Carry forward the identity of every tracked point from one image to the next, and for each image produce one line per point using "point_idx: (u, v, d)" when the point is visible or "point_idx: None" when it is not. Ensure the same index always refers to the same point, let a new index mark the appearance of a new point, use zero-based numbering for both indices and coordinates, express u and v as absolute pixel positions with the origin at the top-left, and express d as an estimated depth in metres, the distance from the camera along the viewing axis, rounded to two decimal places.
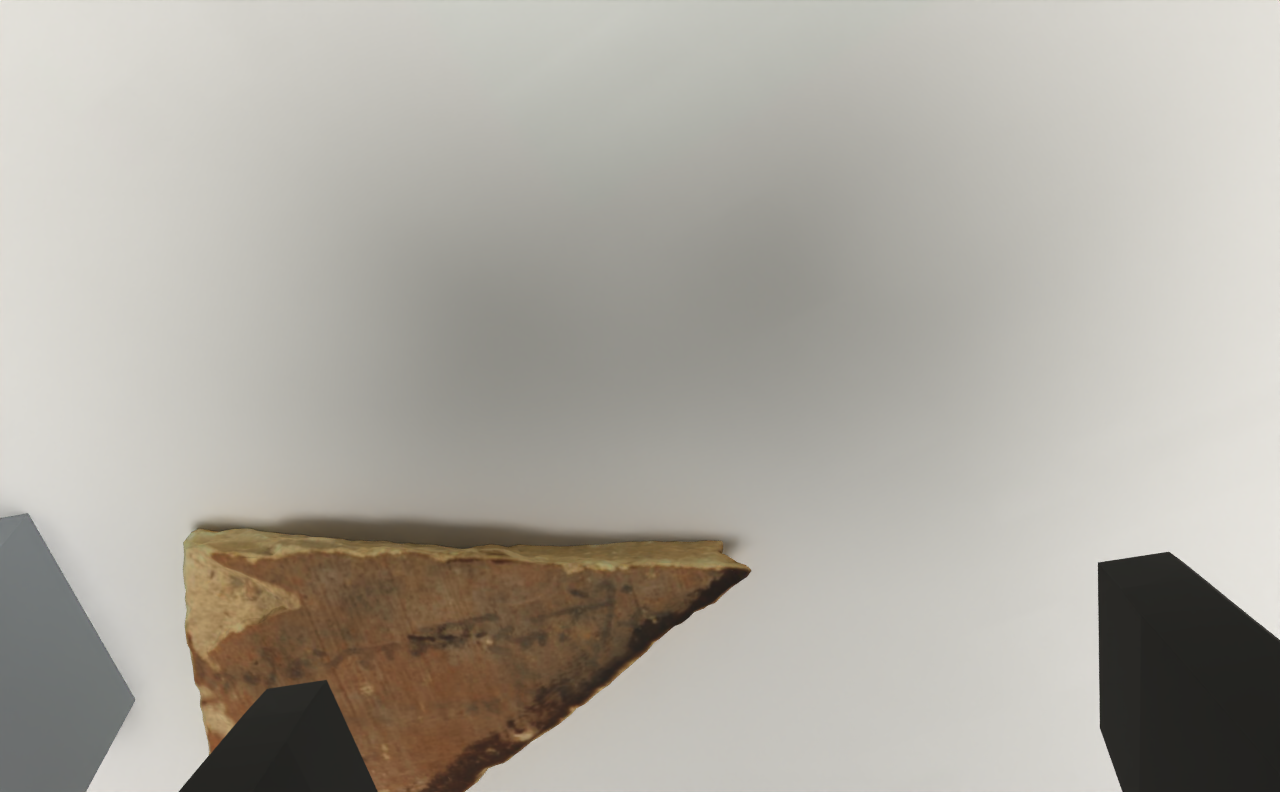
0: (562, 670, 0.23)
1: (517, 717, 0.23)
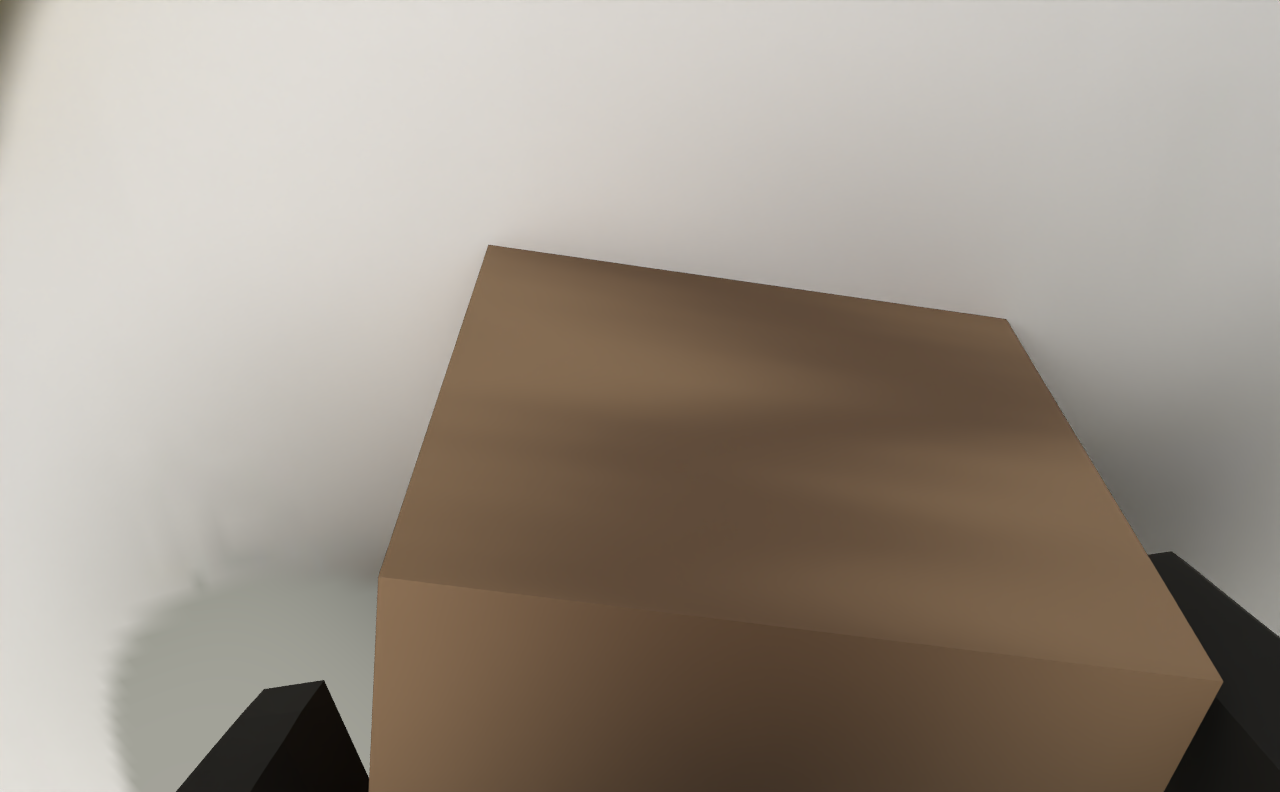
0: None
1: None
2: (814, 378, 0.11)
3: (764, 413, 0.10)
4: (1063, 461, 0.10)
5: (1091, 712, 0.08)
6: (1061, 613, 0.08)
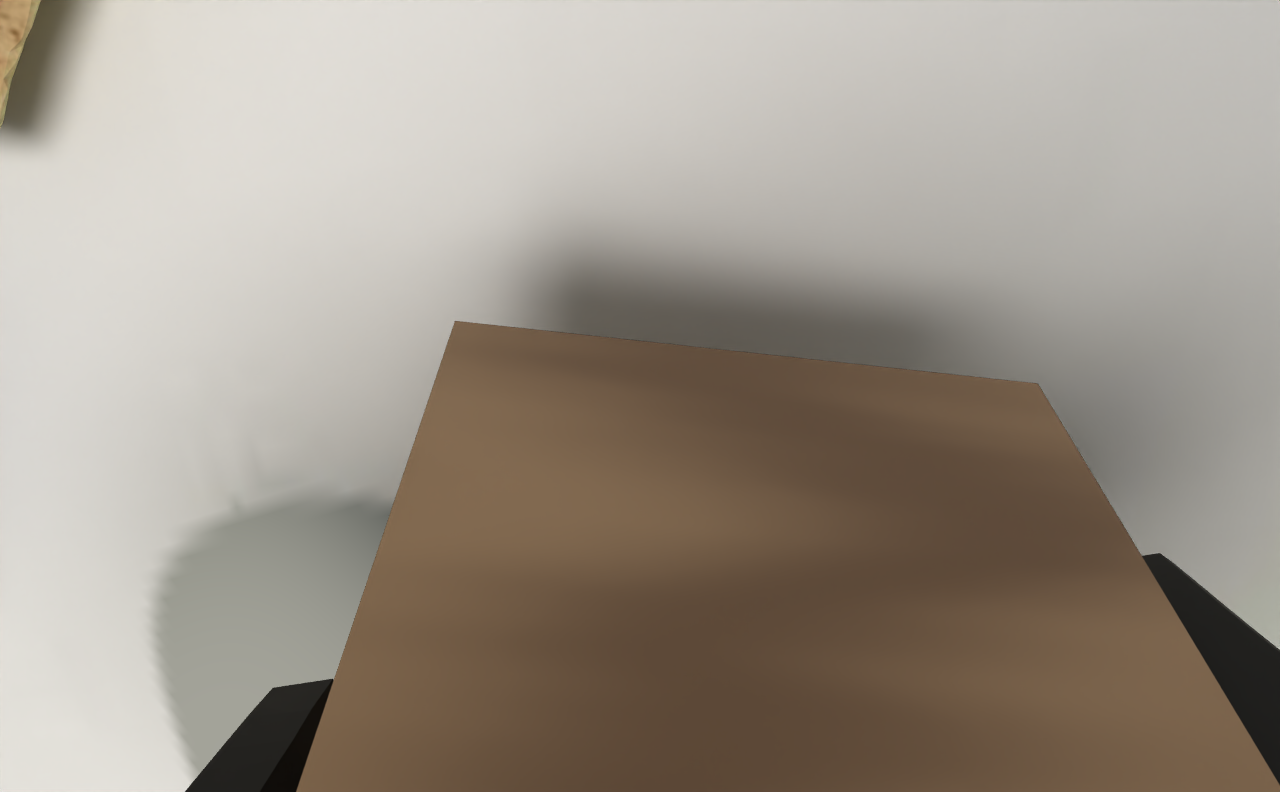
0: None
1: None
2: (832, 511, 0.09)
3: (773, 566, 0.08)
4: (1142, 613, 0.08)
5: None
6: None
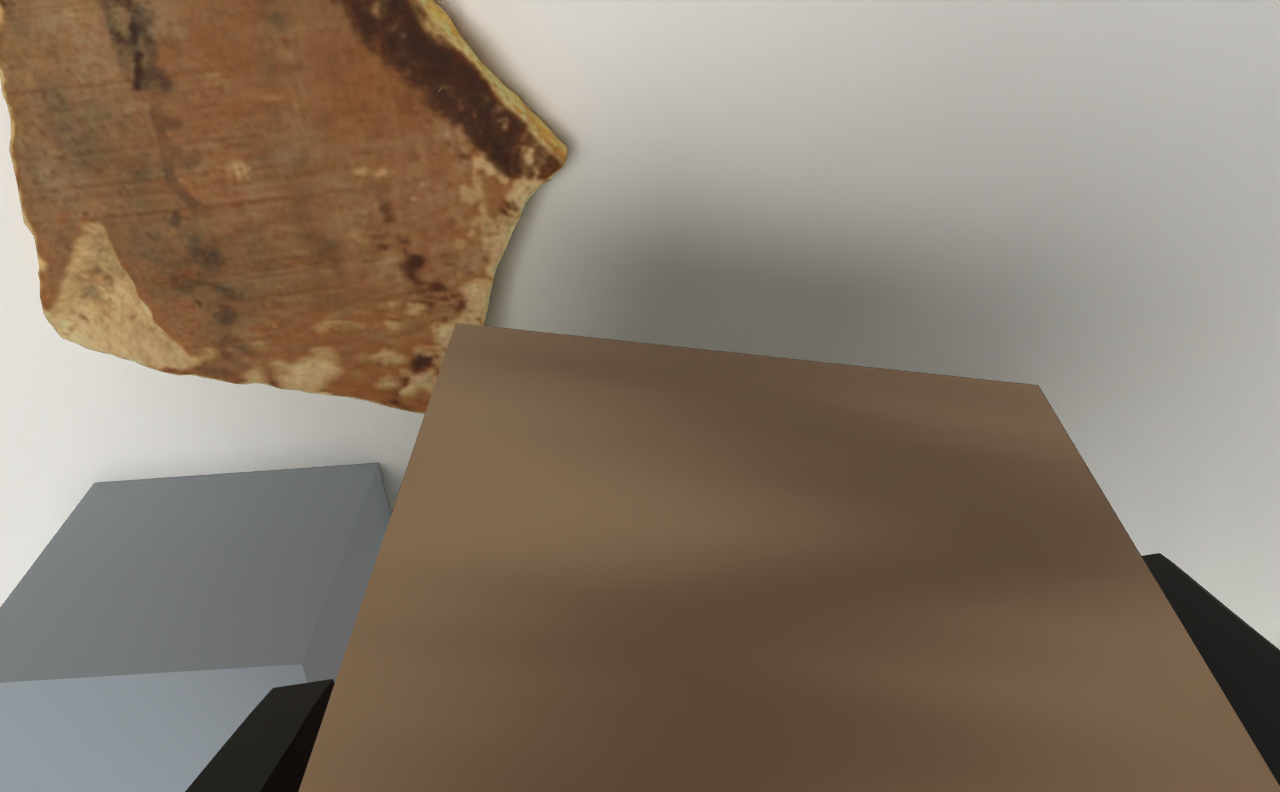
0: None
1: None
2: (834, 514, 0.09)
3: (775, 569, 0.08)
4: (1143, 615, 0.08)
5: None
6: None
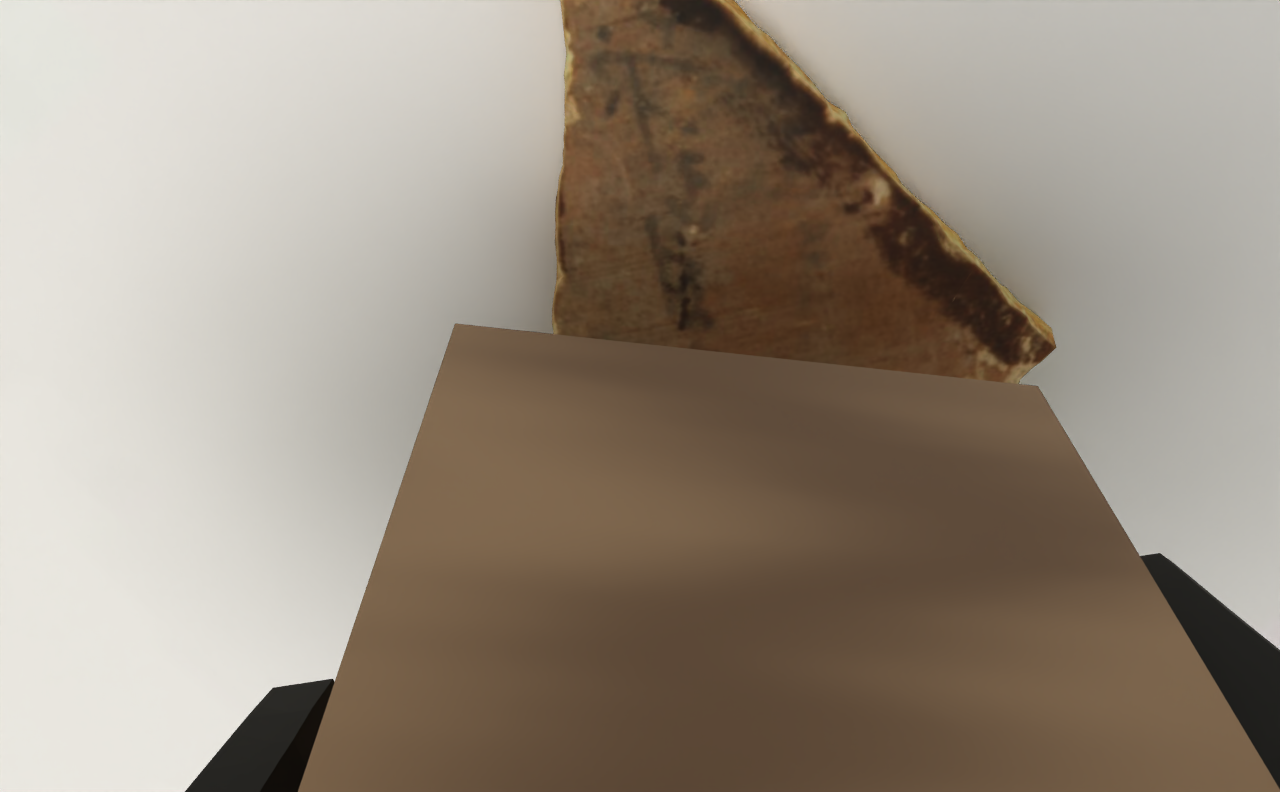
0: (752, 131, 0.16)
1: (839, 198, 0.16)
2: (834, 514, 0.09)
3: (773, 571, 0.08)
4: (1142, 617, 0.08)
5: None
6: None
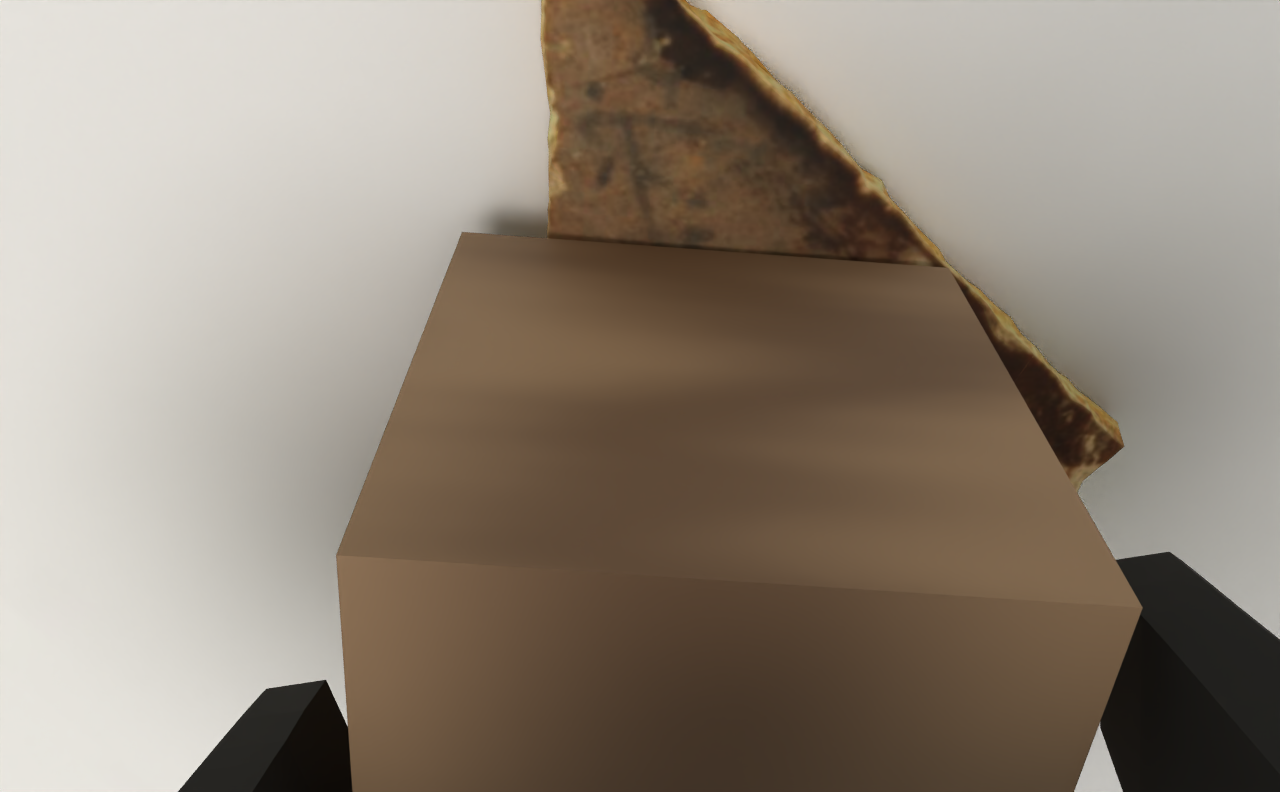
0: (771, 204, 0.13)
1: None
2: (764, 353, 0.11)
3: (713, 388, 0.10)
4: (1004, 414, 0.10)
5: (1020, 645, 0.08)
6: (989, 554, 0.08)
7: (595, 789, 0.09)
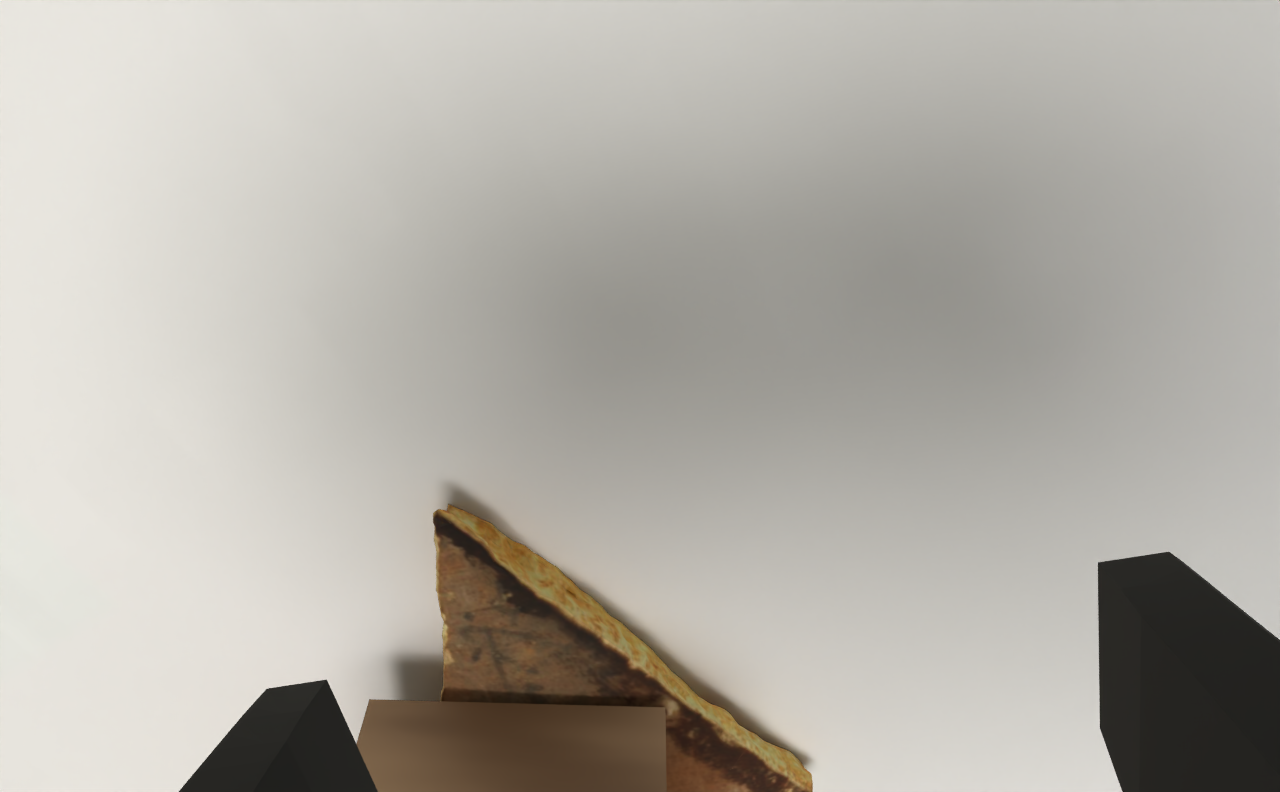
0: (576, 673, 0.22)
1: None
2: None
3: None
4: None
5: None
6: None
7: None
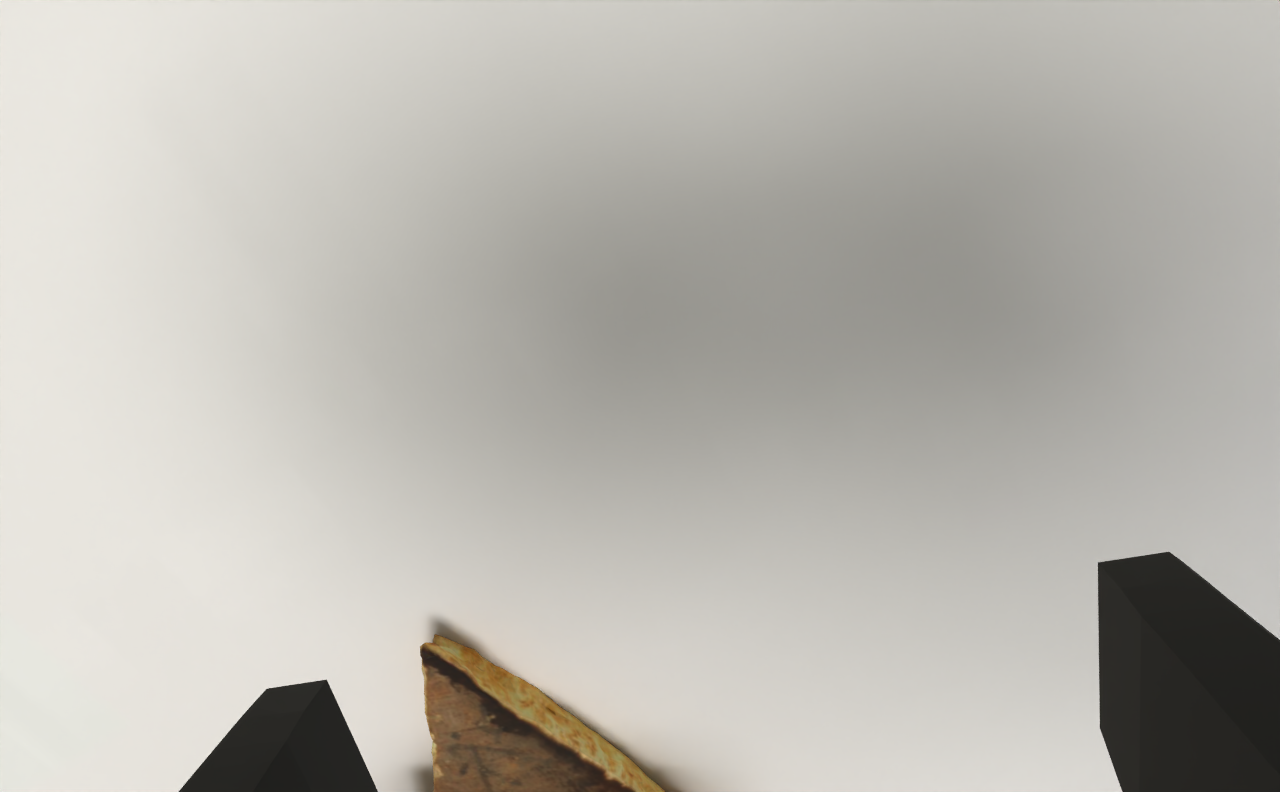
0: (557, 784, 0.23)
1: None
2: None
3: None
4: None
5: None
6: None
7: None
